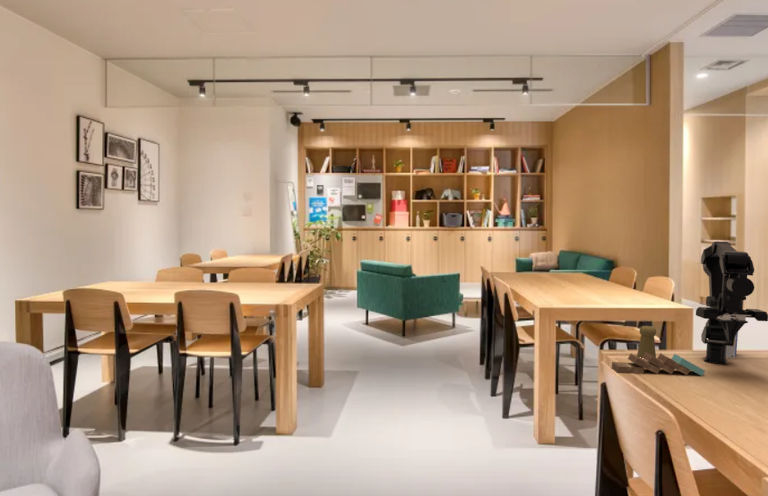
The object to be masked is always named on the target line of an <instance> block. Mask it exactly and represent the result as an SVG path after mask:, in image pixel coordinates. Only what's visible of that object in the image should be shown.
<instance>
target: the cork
mask: <svg viewBox="0 0 768 496" xmlns="http://www.w3.org/2000/svg"><path fill="white" fill-rule="evenodd" d="M656 329H657V328H655V327H654V326H650V325H642V326H640V328H639V334H640V339H639V342H638V343H639V344H638V348H637V353H636V356H638V357H641V358H642V357H643V355H644V354H645V352H646V353H648V354H650V355H652V356H653V357H655V358H657V355H656V354H657V353H656V342H655V341H656V340H655V336H656V335H657V330H656Z"/></svg>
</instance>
